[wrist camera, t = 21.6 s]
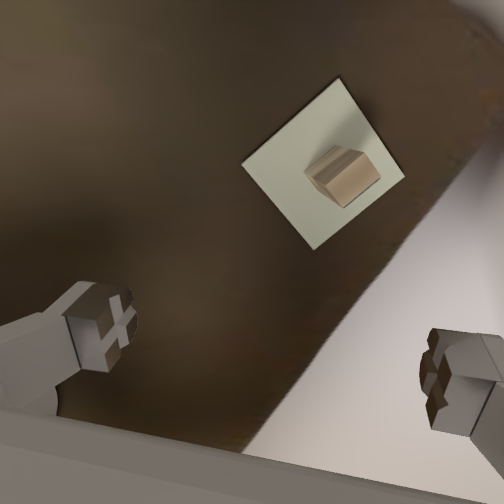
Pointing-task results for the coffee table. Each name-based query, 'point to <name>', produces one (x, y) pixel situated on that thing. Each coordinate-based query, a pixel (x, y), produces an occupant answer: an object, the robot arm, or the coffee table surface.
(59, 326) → the robot arm
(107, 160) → the coffee table surface
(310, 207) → the sage mat
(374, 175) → the card deck block
